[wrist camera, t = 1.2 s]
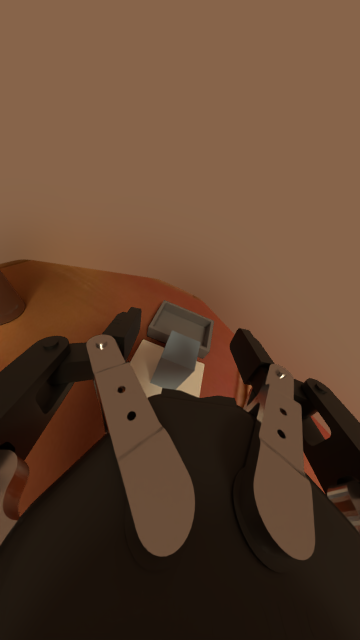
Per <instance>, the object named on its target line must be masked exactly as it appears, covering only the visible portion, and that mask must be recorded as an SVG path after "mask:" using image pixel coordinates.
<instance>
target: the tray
mask: <svg viewBox="0 0 360 640" xmlns="http://www.w3.org/2000/svg"><path fill="white" fill-rule="evenodd" d="M213 324H214V321H213V320H210V319H208V318H206V317H203V316H201V315H199V314H196V313H194V312H191V311H189V310H187V309H184V308H182V307H180V306H177V305H175V304H172V303H170V302H168V301H165V300H164V301H163V303H162V305H161V306H160V308H159V310H158V311H157V313H156V315H155V317H154V318H153V320H152V322H151V323H150V325H149V327H148V332H147V336H149V337H151V338H153V339H156V340H158V341H161V342H163V343H167V341H168V339H169V336H170V334H171V332H172V331H175V332H177V333H180V334H182V335H184V336H187V337H189V338H192V339H194V340H196V341H199V342H200V347H199V352H198V357H200V358H202V359H203V358H204V357H205V356H206V355H207V354H208V353H209V351H210V344H211V338H212V331H213Z"/></svg>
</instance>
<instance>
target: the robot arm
mask: <svg viewBox="0 0 360 640" xmlns="http://www.w3.org/2000/svg"><path fill="white" fill-rule="evenodd" d="M24 309H25V304H24V302H23V300H22V299H21V298H20V296H19V295H18V294H17V292H16V291H15V289H14V288H13V287H12V285H11V284H10V283H9V281H8V280H7V279H6V277H5V276H4V275H3V273H2V272H1V271H0V325H1V324H5V323H7V322H10V321H12V320H13V319H15V318H17V317H18V316H19V315H20V314H21V313H22V312H23V311H24ZM140 322H141V309H139V308H134V307H131V308H130V309H129V311H128V312H127V313H126V312H122V313H120V314H118V315H117V316H116V317H115V318H114V320H113V321H112V323H110V325H109V326H108V327H107V328H106V330H105V331H104V332H103V333H102V335H97V336H94V337H92V338H91V339H89V340H88V342H86V343H72V344H69V341H68V339H67V338H65V337H62V336H51V337H47V338H44V339H41V340H39V341H38V342H36V343H35V344H34V345H32V346H31V347H30V348H29V349H27V350H26V351H25V352H24V353H23V354H21V355H20V356H19V357H18V358H16V359H15V360H14V361H13V362H12V363H10V364H9V365H8V366H7V367H5V368H4V369H3V370H2V371H1V372H0V640H360V423H359V422H358V420H357V419H356V418H355V417H354V416H353V415H352V414H351V413H350V411H349V410H348V409H347V408H346V407H345V406H344V405H343V404H342V403H341V401H340V400H339V399H338V398H337V397H336V396H335V395H334V394H333V392H332V391H331V390H330V389H329V388H328V387H326V386H325V385H324V384H322V383H321V382H319V381H317V380H315V379H311V378H309V379H307V380H306V381H305V382H304V383H303V382H300V381H298V380H296V379H294V378H293V376H292V375H291V373H290V372H289V371H288V370H286V369H285V368H283V367H282V366H280V365H277V364H274V362H273V361H272V360H271V358H270V357H269V355H268V354H267V352H266V351H265V350H264V348H263V347H262V345H261V344H260V343H259V341H258V340H257V339H255V338H254V337H253V335H252V334H251V332H250V331H249V330H246V329H241V328H239V329H238V330H237V331H236V333H235V335H234V337H233V339H232V341H231V343H230V350H231V353H232V355H233V358H234V360H235V363H236V365H237V368H238V370H239V372H240V375H241V377H242V380H243V382H244V384H247V385H252V388H251V389H250V391H249V394H248V397H247V400H246V403H245V405H244V408H241V407H240V406H238V405H237V404H236V401H235V398H230V397H223V396H212V397H205V398H198V397H196V396H193V395H191V394H188V393H186V392H183V391H181V390H174V389H167V388H162V391H161V394H156V395H153V396H150V397H148V398H147V396H146V394H145V392H144V390H143V388H142V386H141V384H140V382H139V380H138V378H137V376H136V374H135V372H134V370H133V368H132V366H131V364H130V363H129V362H126V360H127V358H128V355H129V353H130V351H131V349H132V346H133V344H134V342H135V340H136V337H137V335H138V333H139V330H140ZM92 379H93V383H94V387H95V391H96V395H97V400H98V404H99V408H100V413H101V417H102V422H103V426H104V430H105V435H104V436H103V437H102V438H101V439H100V440H99V441H98V442H97V443H96V444H95V445H93V446H92V447H91V448H90V449H89V450H88V451H87V452H86V453H85V454H84V455H83V456H82V457H81V458H80V459H79V460H77V461H76V462H75V463H74V464H73V465H72V466H71V467H70V468H69V469H68V470H67V471H66V472H65V473H64V474H62V475H61V476H60V477H59V478H58V479H57V480H56V481H55V482H54V483H53V484H52V485H51V486H50V487H49V488H48V489H46V490H45V491H44V492H43V493H42V494H41V495H40V496H39V497H38V498H37V499H36V500H35V501H34V502H33V503H32V504H31V505H30V506H29V507H28V509H27V510H26V511H25V512H24V513H23V514H22V516H21V517H20V516H19V512H18V505H19V500H20V497H21V494H22V492H23V489H24V487H25V485H26V483H27V480H28V477H29V467H28V465H27V463H26V462H25V461H24V460H25V459H26V457H27V455H28V454H29V452H30V451H31V449H32V448H33V446H34V445H35V443H36V441H37V440H38V438H39V437H40V435H41V434H42V432H43V431H44V429H45V428H46V426H47V424H48V423H49V421H50V420H51V418H52V417H53V415H54V414H55V412H56V411H57V409H58V407H59V406H60V404H61V403H62V401H63V400H64V398H65V397H66V395H67V393H68V392H69V390H70V389H71V387H72V386H73V384H74V383H75V382H78V381H85V380H92ZM316 412H319V413H320V415H321V416H322V417H323V419H324V420H325V422H326V423H327V425H328V426H329V427H330V430H331V437H330V438H328V439H326V440H325V439H324V437H323V436H322V434H321V432H320V431H319V429H318V428H317V426H316V425H315V423H314V422H313V420H312V419H311V416H312V415H313V414H315V413H316ZM303 451H304V453H305V455H306V457H307V459H308V461H309V463H310V465H311V467H312V469H313V471H314V473H315V475H316V477H317V479H318V481H319V483H320V484H321V486H322V488H323V490H324V492H325V494H326V495H325V494H324V492H323V491H322V490H321V489H320V488H319V487H318V486H317V485H316V484H315V483H314V482H313V481H312V479H311V478H310V477H309V476H308V475H307V474H306V473H305V472H304V461H303Z"/></svg>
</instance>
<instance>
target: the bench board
mask: <svg viewBox="0 0 360 640" xmlns="http://www.w3.org/2000/svg"><path fill="white" fill-rule="evenodd" d="M163 350H164V348H163V347H161V346H159V345H156V344H154V343H151V342H149V341H146V340H144V339H143V340H142V342H141V344H140V346H139V347H138V349H137V351H136V353H135V354H134V356H133V358H132V360H131V361H130V364H131V366H132V368H133V370H134V372H135V374H136V376H137V378H138V380H139V382H140V384H141V386H142V388H143V390H144V392H145V394H146V396H147V398H148V397H150V396H153V395H156V394H161V391H162V387H159V386H157V385H154V384H152V383H150V382H151V379H152V377H153V374H154V372H155V369H156V367H157V365H158V362H159V360H160V358H161V355H162V353H163ZM204 365H205V364H202V363H200V362H198V361H196V366H195V371H194V372H193V373H192V374H191V375H190V376H189V377H188V378H187V379H186V380H185V381H184V382H183V383H182V384H181V385H180V386H179V387H178V388H177V389H176V390H181V391H183V392H186V393H188V394H191V395H193V396H196V397H198V398H199V395H200V389H201V383H202V377H203V371H204Z"/></svg>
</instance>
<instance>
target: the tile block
mask: <svg viewBox="0 0 360 640" xmlns="http://www.w3.org/2000/svg"><path fill="white" fill-rule="evenodd" d="M199 347H200V342H199V341H196V340H194V339H192V338H189V337H187V336H184V335H182V334H180V333H177V332H175V331H172V332H171V334H170V336H169V339H168V341H167V343H166V346H165V348H164V350H163V353H162V355H161V358H160V360H159V362H158V365H157V367H156V369H155V372H154V374H153V377H152V379H151V382H150V383H152V384H154V385H157V386H159V387H162V388H167V389H174V390H176V389H177V388H178V387H179V386H180V385H181V384H182V383H183V382H184V381H185V380H186V379H187V378H188V377H189V376H190V375H191V374H192V373H193V372H194V371H195V366H196V361H197V357H198V352H199Z"/></svg>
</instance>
